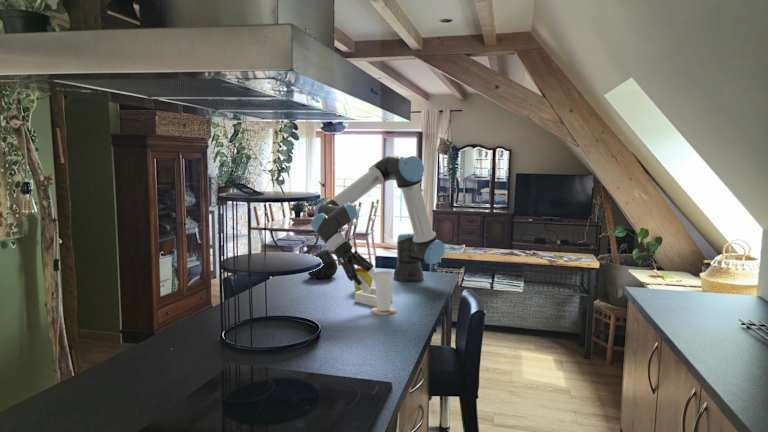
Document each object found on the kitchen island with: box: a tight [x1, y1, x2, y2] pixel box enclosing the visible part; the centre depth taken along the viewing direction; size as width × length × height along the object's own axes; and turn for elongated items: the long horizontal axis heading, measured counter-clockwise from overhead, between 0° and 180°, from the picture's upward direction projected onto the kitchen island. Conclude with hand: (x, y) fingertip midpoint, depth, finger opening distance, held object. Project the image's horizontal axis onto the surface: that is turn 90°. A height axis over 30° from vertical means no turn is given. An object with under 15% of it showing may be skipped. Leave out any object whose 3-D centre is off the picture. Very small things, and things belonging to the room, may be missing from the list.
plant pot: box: [353, 267, 375, 292], centre depth 231 cm, size 10×10×10 cm
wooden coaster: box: [370, 306, 397, 316], centre depth 201 cm, size 10×10×1 cm
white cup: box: [374, 270, 394, 311], centre depth 200 cm, size 7×7×15 cm
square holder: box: [354, 286, 393, 307], centre depth 215 cm, size 11×11×4 cm
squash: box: [307, 249, 338, 279], centre depth 255 cm, size 14×15×15 cm
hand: (373, 286), depth 201 cm, fingers open, 13 cm apart
